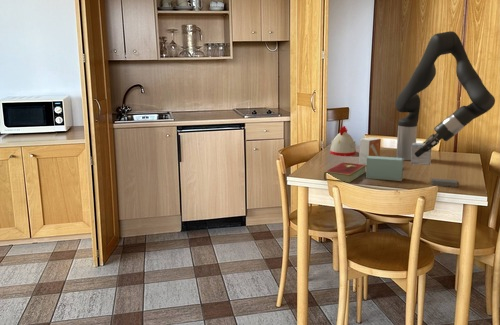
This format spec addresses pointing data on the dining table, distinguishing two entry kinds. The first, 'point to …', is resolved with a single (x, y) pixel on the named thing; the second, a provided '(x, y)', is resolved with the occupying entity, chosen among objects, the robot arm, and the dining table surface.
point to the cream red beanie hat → (343, 144)
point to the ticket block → (384, 168)
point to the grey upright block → (424, 158)
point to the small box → (369, 149)
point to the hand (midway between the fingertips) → (416, 154)
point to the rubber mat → (444, 182)
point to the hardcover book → (346, 171)
